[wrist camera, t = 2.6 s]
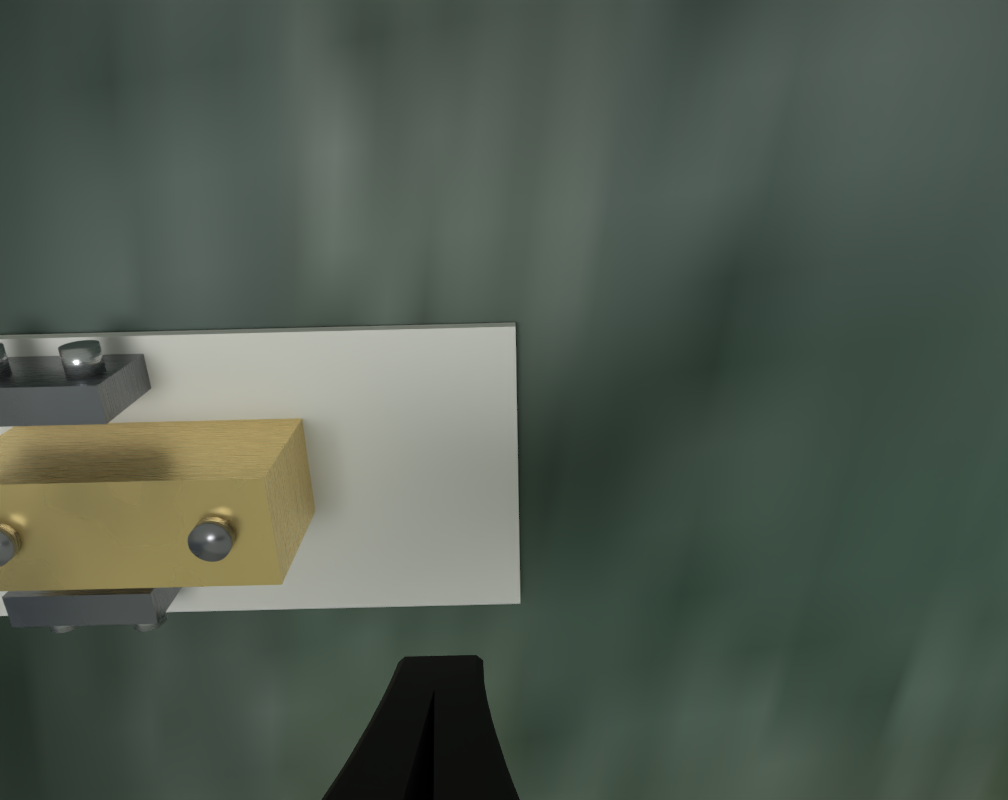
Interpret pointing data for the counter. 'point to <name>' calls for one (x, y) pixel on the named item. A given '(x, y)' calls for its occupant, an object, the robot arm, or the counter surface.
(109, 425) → the link
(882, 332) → the counter surface
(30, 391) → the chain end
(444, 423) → the mat
